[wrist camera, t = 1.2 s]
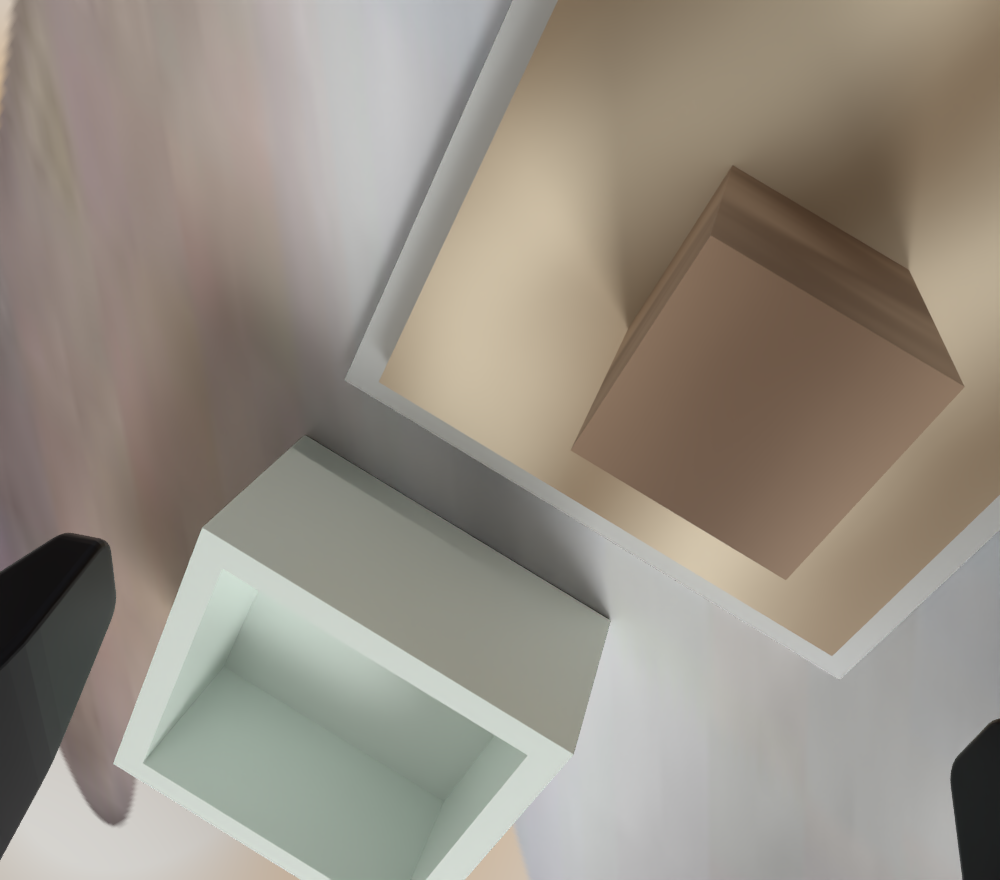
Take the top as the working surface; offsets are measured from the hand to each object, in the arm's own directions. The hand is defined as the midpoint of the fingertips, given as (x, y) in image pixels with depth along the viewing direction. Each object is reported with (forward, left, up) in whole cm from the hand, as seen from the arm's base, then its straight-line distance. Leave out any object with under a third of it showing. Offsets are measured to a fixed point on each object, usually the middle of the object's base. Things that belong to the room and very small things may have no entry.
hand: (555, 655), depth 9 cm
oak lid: (-1, -1, -12) cm, 12 cm away
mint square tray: (+2, +14, -13) cm, 19 cm away
